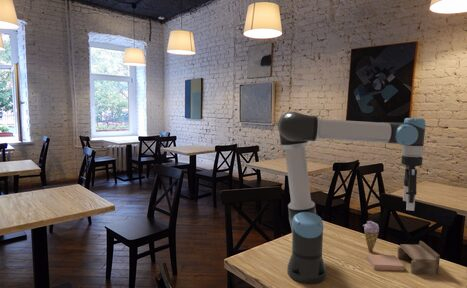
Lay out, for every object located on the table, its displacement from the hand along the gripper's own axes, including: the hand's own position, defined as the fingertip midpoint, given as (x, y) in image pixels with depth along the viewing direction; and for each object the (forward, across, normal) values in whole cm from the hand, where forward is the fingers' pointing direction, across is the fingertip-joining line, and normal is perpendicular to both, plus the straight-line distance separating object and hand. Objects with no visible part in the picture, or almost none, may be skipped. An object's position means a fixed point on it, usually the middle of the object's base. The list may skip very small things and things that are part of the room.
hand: (408, 205), depth 128 cm
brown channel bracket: (+25, -1, -5) cm, 25 cm away
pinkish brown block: (+26, -5, +8) cm, 27 cm away
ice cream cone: (+26, +5, +13) cm, 29 cm away
